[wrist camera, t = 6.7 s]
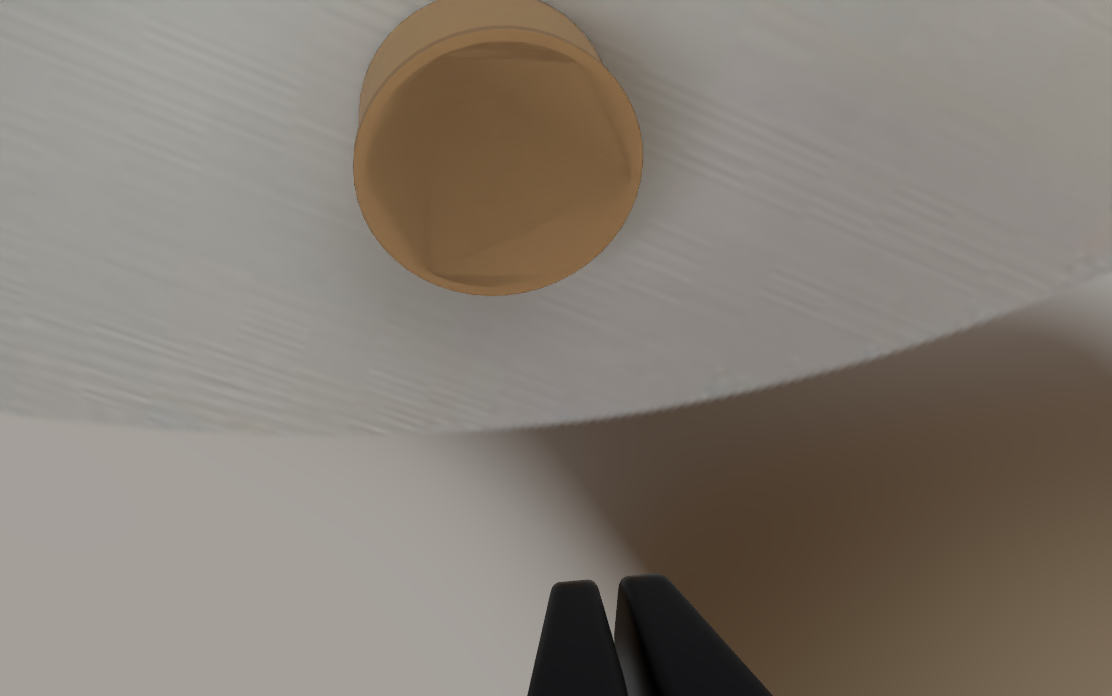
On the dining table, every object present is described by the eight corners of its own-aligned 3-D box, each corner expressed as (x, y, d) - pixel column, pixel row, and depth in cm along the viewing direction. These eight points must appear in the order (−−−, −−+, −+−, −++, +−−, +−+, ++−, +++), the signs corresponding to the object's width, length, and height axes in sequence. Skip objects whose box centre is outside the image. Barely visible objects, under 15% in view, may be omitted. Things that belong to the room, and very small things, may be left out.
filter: (472, 274, 22) (484, 342, 20) (296, 106, 19) (289, 164, 17) (664, 124, 21) (697, 181, 18) (502, -78, 18) (521, -38, 16)
